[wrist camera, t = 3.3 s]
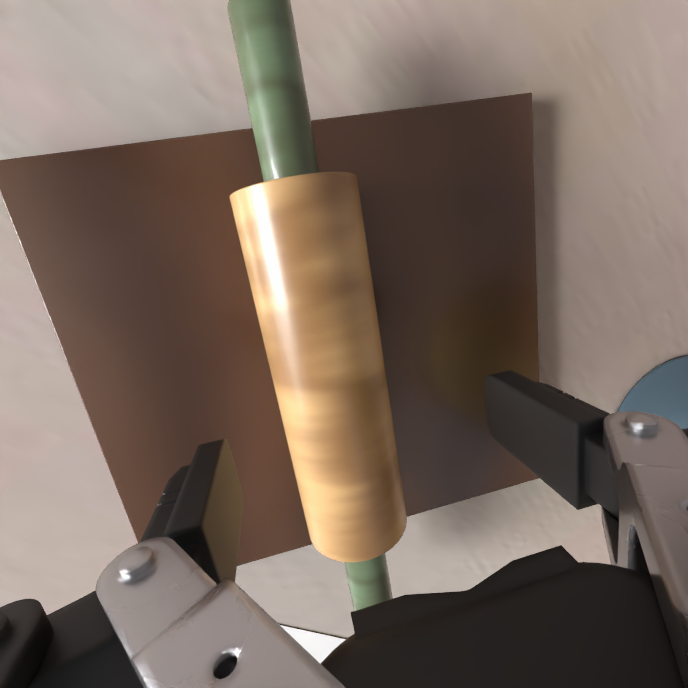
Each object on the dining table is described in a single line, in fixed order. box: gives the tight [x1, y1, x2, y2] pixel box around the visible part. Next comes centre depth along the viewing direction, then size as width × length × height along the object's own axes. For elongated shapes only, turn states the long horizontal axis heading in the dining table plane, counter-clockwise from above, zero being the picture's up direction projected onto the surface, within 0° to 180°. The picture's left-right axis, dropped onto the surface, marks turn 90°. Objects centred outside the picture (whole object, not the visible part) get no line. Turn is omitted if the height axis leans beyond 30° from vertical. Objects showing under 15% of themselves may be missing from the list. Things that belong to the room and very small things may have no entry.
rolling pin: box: [228, 0, 407, 611], centre depth 17 cm, size 5×28×5 cm, turn 9°
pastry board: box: [0, 93, 539, 566], centre depth 20 cm, size 24×22×1 cm
